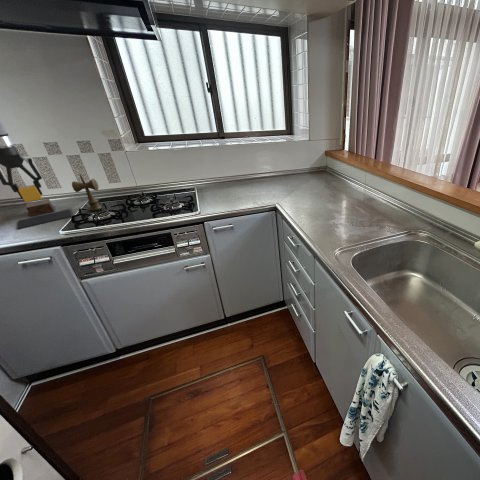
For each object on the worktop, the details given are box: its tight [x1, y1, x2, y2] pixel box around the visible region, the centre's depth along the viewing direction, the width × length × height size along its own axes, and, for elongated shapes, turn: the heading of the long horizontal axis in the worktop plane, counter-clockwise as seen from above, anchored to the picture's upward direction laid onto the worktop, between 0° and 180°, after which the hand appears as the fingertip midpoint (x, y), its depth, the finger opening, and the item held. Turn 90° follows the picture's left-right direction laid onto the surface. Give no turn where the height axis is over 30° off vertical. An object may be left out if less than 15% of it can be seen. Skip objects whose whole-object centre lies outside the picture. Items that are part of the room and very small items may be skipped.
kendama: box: [71, 173, 103, 212], centre depth 141 cm, size 6×10×20 cm, turn 113°
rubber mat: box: [17, 209, 72, 230], centre depth 136 cm, size 20×12×1 cm, turn 133°
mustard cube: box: [18, 184, 43, 203], centre depth 129 cm, size 6×6×6 cm
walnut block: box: [25, 198, 55, 218], centre depth 144 cm, size 9×9×5 cm
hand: (32, 195), depth 130 cm, fingers closed on mustard cube, 6 cm apart
